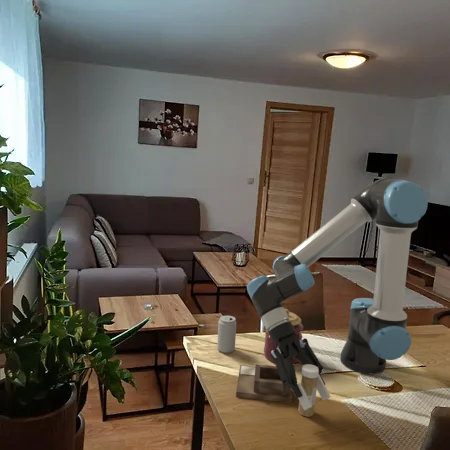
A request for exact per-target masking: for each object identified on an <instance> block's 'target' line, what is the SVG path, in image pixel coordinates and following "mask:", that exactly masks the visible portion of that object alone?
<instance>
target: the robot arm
mask: <svg viewBox="0 0 450 450" xmlns="http://www.w3.org/2000/svg"><path fill="white" fill-rule="evenodd" d="M427 209H428V197H427V194H426V192H425V190H424V189H423V188H422V187H421V186H420V185H419V184H417V183H416V182H413V181H410V180H406V179H405V180H404V179H399V178H398V179H397V178H392V177H383V178H380V179H378V180H375V181H374V182H372V183H370V184H369V185H367V186H366V187H364V188H363V189H362V190H361V191H360V192H359V193H357V194H356V195H354V197H352V198H351V200H350V204H349V205H347V206H346V207H344V209H343V210H341V211H340V212H339V213H338V214H336V215H335V216H333V218H331V219H330V220H329V221H328V222H326V223H325V224H324V225H323V226H321V227H319V229H317V230H316V231H315V232H314V233H313V234H311V235H310V236H309V237H307V238H306V239H305V240H304V241H302V242H301V243H300V244H299V245H298V246H296V247H295V248H294V249H292V251H289V252H288V253H287V254H286V255H281V256H278V257H276V258H275V259H274V260H273V264H272V270H273V274H274V277H273V278H269V277H268V276H267V275H260V276H258V277H255V278H253V279H252V280H250V281H249V282H248V283H247V286H246V291H247V292H248V295H249V297H250V300H251V301H252V304H253V306H254V308H255V310H256V312H257V314H258V316H259V318H260V319H261V322H262V324H263V325H264V328H265V331H266V330H267V331H269V332H268V334H269V336H270V339H271V341H272V343H273V344H275V345H276V349H274V350H273V351H271V352H270V355H271V357H272V358H273V360H274V362H275V363H274V364H275V366H276V367H277V370H278V372H279V375H280V378H281V381H282V383H283V386H284V387H286V386H287V387H288V388H290V387H291V391H292V392H293V394H294V396H295V398H296V399H298V400H299V401H300V403H301V405H302V407H303V409H304V410H306V409H308V408H310V407H312V405H311V403H310V401H309V399H308V397H307V395H306V393H305V391H304V389H303V387H302V385H301V382H299V383H298V377H297V374H296V368H295V364H294V363H293V358H294V357H295V358H296V359H298V360H299V361H298V362H300V363H301V364H302V366H303V365H306V364H311V365H314V366H316V367H318V369H319V375H318V378H317V390H316V391H317V392H318V394H319V396H320V398H321V400H322V401H326V400H328V399H330V398H331V395H330V392H329V391H328V388H327V387H326V383H325V381H324V379H323V377H322V373H323V371H324V367H323V364H322V363H321V362H320V360H319V359H318V357H317V355H316V354H315V352H314V351H313V349H312V347H311V346H310V344H309V340H308V339H307V338H306V337H305V338H302V340H299V339H298V338H297V337H296V335H295V334H296V331H295V329H294V327H293V325H292V323H291V322H289V317H288V315H287V313H286V311H285V309H286V308H284V306H283V304H282V303H283V302H285V301H287V300H289V299H291V298H292V297H295V296H298V295H299V294H301V293H303V292H306V291H307V290H308V289H311V288H312V287H314V285H315V279H314V277H313V274H312V273H311V271H310V269H309V267H310V266H312V265H313V264H314V263H315V262H317V261H318V260H319V259H320V258H323V256H324V255H325V254H327V253H328V252H330V250H332V249H333V248H334V247H336V246H337V245H338V244H339V243H341V242H342V241H343V240H344V239H346V238H347V237H349V236H350V235H351V234H353V232H356V230H358V229H359V228H360V227H361V226H363V225H364V224H365V223H367V222H368V223H372V222H373V221H374V220H375V225H376V226H377V228H378V229H379V238H378V239H379V240H378V250H377V260H376V268H375V269H376V270H375V279H374V289H373V290H374V291H373V298H370V297H358V298H355V299H353V300H352V301H351V304H350V305H351V306H350V308H349V309H350V313H349V322H348V323H349V324H348V332H347V333H348V334H347V340H346V341H345V343H344V345H343V348H342V349H341V352H340V357H339V358H340V362H341V364H342V365H343V366H344V367H346V368H348V369H349V370H351V371H354V372H358V373H362V374H366V373H373V374H372V375H375V374H376V375H377V374H380V373H383V372H384V371H386V366H387V361H393V360H394V361H395V360H397V359H400V358H401V357H402V356H404V355H406V354H407V353H408V351H409V350H410V348H411V346H412V345H411V344H412V336H411V334H410V331H409V330H407V321H408V314H407V313H406V311H404V309H403V306H404V298H405V289H406V282H407V271H408V265H409V264H408V263H409V257H410V256H409V253H410V247H411V237H412V233H413V232H414V231H416V230H417V229H418V226H419V221H420V220H421V218H422V217H423V216H424V215H425V214H426V211H427ZM281 354H282V355H281Z"/></svg>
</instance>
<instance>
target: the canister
mask: <svg viewBox="0 0 450 450" xmlns="http://www.w3.org/2000/svg"><path fill="white" fill-rule="evenodd" d="M284 309H285V311H286V313H287V315H288V317H289V322H291V323H292V325H293V327H294V329H295V331H296V334H295V335H296V337H297V338H298V339H299V340H303V334H302V331H303V330H304V326H303V324H302V319H301V318H300V317H299V316H298V315H297V314H296V313H294V312H291V311H289V310H288V309H287V308H284ZM268 332H269V331H267V330H266V329H265V331H264V333H265V338H264V346H263V355H264V357H265V359H267V361H268V362H271V363H274V364H275V362H274V360H273V358H272V357H271V355H270V352H271V351H273V350H274V349H276V345H275V344H273V343H272V341H271V339H270V336H269V334H268ZM281 355H282V354H281ZM298 362H300V361H299V360H298V359H296V358H295V357H294V358H293V363H294V365H296V364H297V363H298Z"/></svg>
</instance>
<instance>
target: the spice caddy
mask: <svg viewBox="0 0 450 450" xmlns="http://www.w3.org/2000/svg"><path fill="white" fill-rule="evenodd" d="M237 377H238V378H237V384H236V392H235V397H237V398H245V399H255V400H265V401H272V402H283V403H292V399H293V397H292V388H291V387H290V388H288V387H287V386H286V387H284V386H283V383H282V381H281V378H280V375H279V372H278V370H277V367H276V365H268V364H259V363H256V364H255V366H251V365H241V364H240V365H239V370H238V376H237Z"/></svg>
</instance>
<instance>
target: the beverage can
mask: <svg viewBox="0 0 450 450" xmlns="http://www.w3.org/2000/svg"><path fill="white" fill-rule="evenodd" d="M217 322H218V324H217V325H218V326H217V345H216V348H217V350H218V351H220V352H221V353H222V354H230V353H232V352H233V351H235V349H236V339H237V338H236V334H237V321H236V317H235V316H232V315H222V316H220V317H219V320H218V321H217Z"/></svg>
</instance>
